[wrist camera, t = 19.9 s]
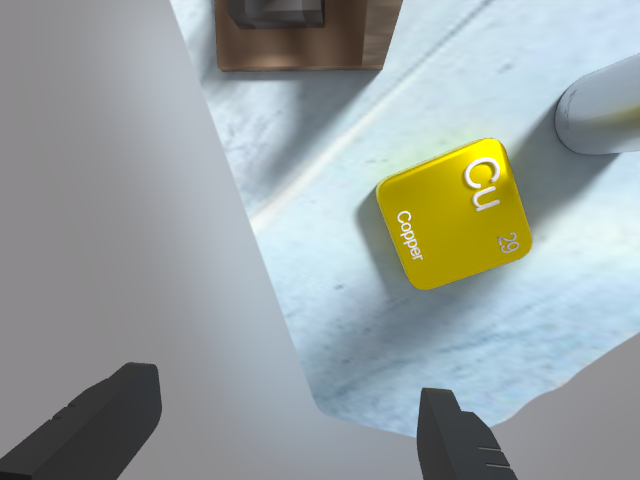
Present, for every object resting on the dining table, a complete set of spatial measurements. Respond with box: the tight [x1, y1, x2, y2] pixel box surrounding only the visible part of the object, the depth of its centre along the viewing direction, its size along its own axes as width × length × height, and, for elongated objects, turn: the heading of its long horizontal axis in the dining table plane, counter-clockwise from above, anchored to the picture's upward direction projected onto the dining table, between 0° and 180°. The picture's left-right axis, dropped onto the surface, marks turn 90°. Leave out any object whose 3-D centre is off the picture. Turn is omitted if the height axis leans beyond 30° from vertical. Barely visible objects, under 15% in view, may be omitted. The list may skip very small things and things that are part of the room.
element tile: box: [375, 138, 533, 290], centre depth 38 cm, size 15×15×5 cm
